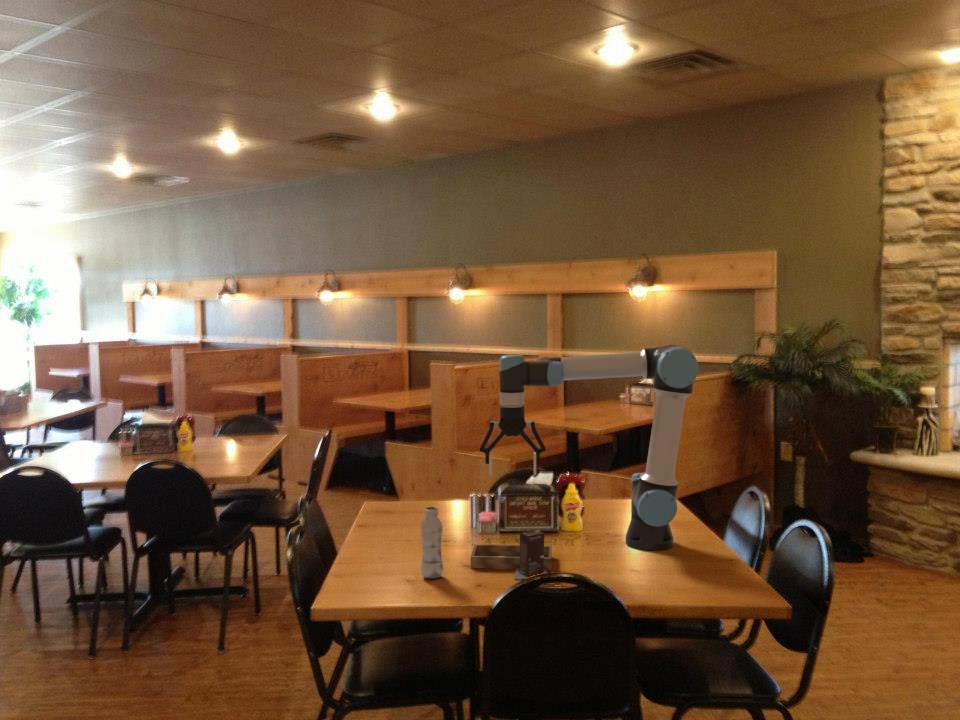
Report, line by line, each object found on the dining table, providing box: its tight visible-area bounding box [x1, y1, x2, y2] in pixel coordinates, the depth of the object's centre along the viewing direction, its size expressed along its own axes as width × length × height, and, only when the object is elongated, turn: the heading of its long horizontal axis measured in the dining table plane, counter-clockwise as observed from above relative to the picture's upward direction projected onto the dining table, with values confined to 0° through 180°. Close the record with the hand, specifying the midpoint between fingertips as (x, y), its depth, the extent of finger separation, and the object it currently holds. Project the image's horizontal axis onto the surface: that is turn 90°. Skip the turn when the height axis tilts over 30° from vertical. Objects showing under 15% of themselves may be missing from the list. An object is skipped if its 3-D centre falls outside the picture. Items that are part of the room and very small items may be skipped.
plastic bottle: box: [420, 506, 444, 580], centre depth 247 cm, size 6×7×20 cm
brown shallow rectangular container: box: [470, 543, 553, 571], centre depth 260 cm, size 24×13×4 cm, turn 85°
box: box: [519, 529, 545, 577], centre depth 249 cm, size 6×4×12 cm
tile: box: [514, 568, 548, 581], centre depth 249 cm, size 9×9×1 cm
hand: (512, 474), depth 267 cm, fingers open, 13 cm apart
